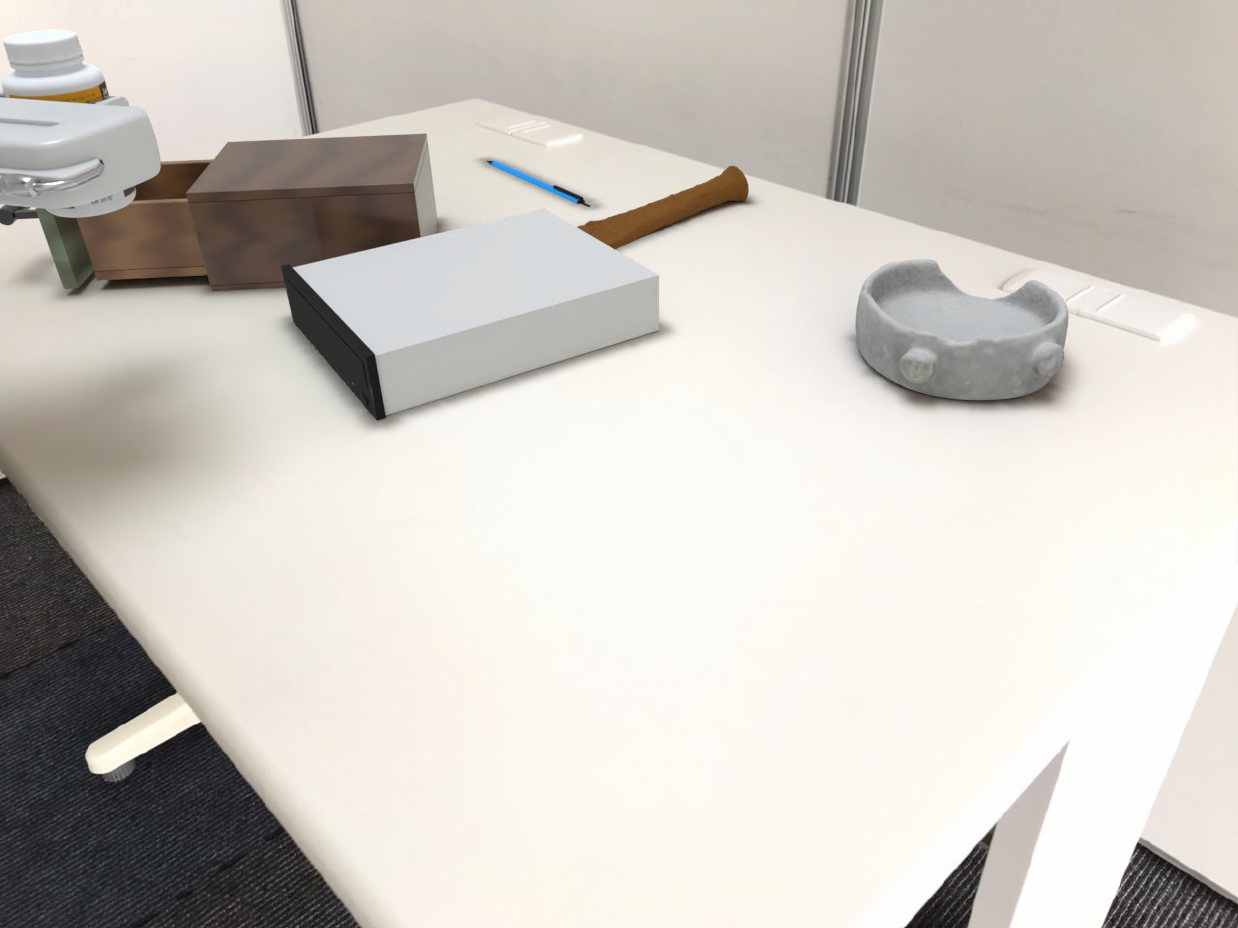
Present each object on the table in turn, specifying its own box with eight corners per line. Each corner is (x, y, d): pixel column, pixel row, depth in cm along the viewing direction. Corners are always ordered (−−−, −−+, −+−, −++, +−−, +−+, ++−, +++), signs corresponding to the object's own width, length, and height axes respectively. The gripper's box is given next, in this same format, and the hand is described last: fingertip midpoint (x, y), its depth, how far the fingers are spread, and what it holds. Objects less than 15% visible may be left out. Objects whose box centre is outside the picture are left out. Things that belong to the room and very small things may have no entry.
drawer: (1, 292, 82) (-30, 211, 78) (59, 236, 92) (33, 162, 89) (268, 279, 83) (249, 199, 80) (296, 224, 94) (280, 151, 90)
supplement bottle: (150, 207, 64) (102, 36, 59) (57, 228, 61) (-2, 50, 56) (124, 185, 68) (76, 22, 62) (35, 204, 65) (-24, 35, 59)
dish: (855, 310, 78) (862, 249, 76) (1043, 325, 76) (1058, 262, 73) (847, 403, 67) (855, 336, 64) (1069, 425, 64) (1088, 355, 61)
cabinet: (212, 295, 83) (185, 193, 78) (249, 234, 94) (227, 141, 90) (427, 284, 84) (413, 182, 79) (438, 225, 95) (426, 133, 91)
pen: (586, 213, 98) (585, 201, 97) (483, 166, 111) (482, 156, 110) (593, 210, 98) (593, 199, 98) (490, 164, 111) (489, 154, 110)
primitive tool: (601, 256, 88) (599, 217, 86) (563, 239, 92) (561, 202, 90) (753, 205, 98) (755, 169, 96) (714, 192, 102) (715, 157, 100)
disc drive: (292, 325, 78) (278, 265, 75) (546, 259, 88) (542, 204, 85) (375, 425, 66) (363, 357, 63) (660, 335, 76) (661, 273, 73)
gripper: (30, 127, 47) (206, 60, 58) (-302, 101, 52) (-81, 44, 63) (73, 255, 50) (231, 169, 61) (-242, 220, 55) (-42, 146, 66)
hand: (72, 106), depth 62 cm, fingers closed on supplement bottle, 5 cm apart
